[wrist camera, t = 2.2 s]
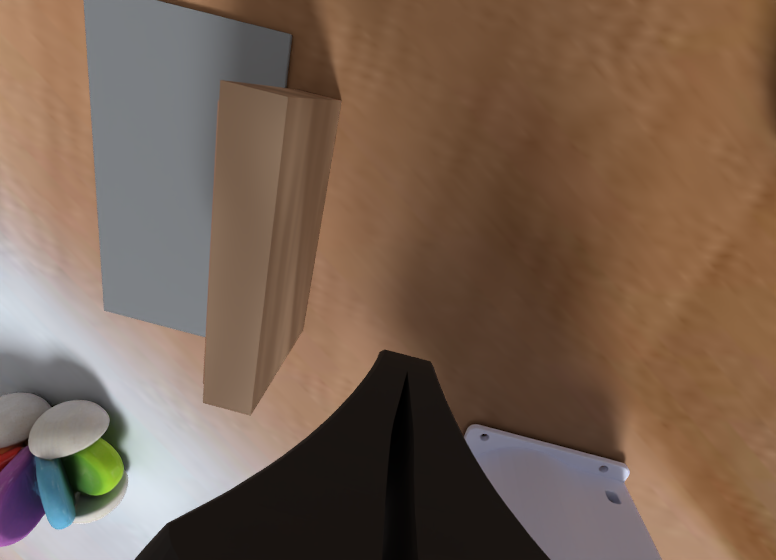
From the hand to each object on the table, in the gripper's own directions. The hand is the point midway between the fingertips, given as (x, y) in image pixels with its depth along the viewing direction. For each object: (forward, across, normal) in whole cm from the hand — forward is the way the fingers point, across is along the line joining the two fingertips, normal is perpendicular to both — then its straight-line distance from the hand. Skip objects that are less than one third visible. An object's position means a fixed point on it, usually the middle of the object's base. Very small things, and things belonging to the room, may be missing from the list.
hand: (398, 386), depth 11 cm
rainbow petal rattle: (+11, +19, +19) cm, 29 cm away
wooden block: (+11, +6, 0) cm, 12 cm away
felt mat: (+10, +12, 0) cm, 16 cm away
